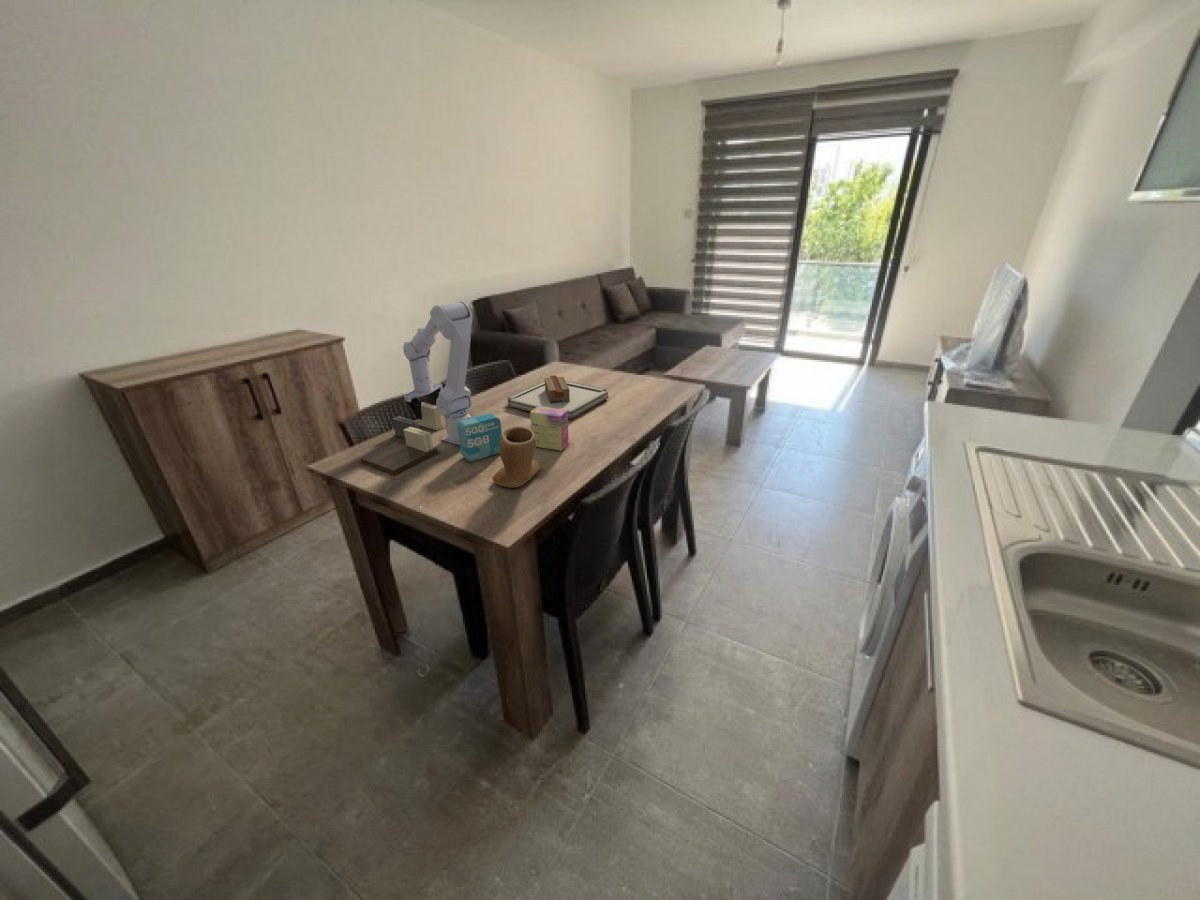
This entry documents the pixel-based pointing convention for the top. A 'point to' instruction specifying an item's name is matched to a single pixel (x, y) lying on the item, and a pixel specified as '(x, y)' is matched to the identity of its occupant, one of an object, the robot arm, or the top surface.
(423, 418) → the white book
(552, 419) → the box
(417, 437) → the cream books
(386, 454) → the shelf board
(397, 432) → the grey books
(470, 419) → the data package
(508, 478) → the stone cup
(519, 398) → the grey square tray
